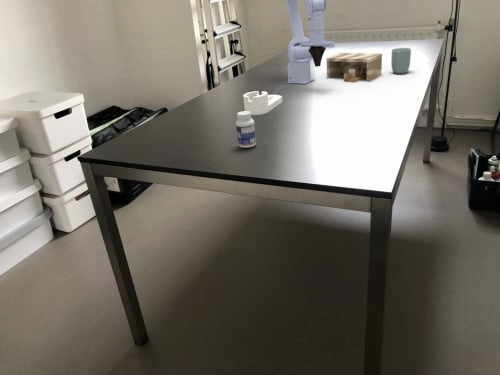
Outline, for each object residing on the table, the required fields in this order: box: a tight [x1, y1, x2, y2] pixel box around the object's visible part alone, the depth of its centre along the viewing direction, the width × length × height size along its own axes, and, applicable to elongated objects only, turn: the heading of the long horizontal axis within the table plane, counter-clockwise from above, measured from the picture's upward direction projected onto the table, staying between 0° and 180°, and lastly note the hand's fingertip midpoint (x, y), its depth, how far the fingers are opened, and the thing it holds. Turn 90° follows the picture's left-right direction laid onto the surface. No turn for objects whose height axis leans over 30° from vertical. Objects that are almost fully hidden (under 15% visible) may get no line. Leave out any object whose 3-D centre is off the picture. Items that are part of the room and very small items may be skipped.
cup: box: [390, 47, 412, 75], centre depth 190 cm, size 8×8×10 cm
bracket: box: [243, 90, 283, 116], centre depth 164 cm, size 20×9×7 cm, turn 152°
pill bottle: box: [235, 110, 257, 148], centre depth 128 cm, size 5×5×10 cm
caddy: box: [343, 65, 367, 83], centre depth 189 cm, size 5×12×6 cm, turn 140°
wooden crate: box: [325, 52, 383, 83], centre depth 192 cm, size 20×12×9 cm, turn 51°
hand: (317, 66), depth 175 cm, fingers closed
